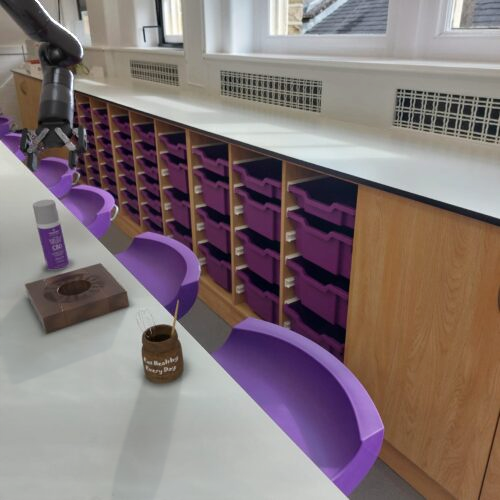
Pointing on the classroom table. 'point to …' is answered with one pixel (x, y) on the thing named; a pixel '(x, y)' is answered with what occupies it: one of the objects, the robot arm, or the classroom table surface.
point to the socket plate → (76, 297)
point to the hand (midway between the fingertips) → (52, 169)
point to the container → (50, 234)
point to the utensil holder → (161, 352)
